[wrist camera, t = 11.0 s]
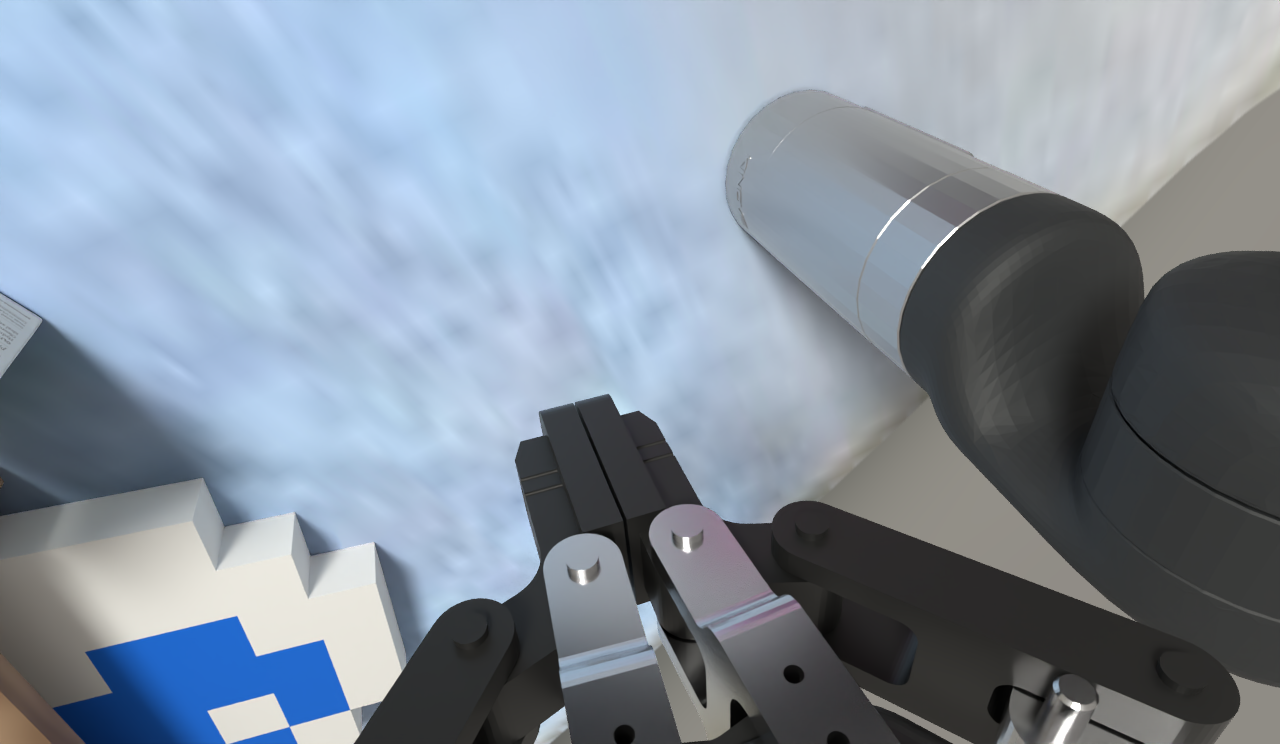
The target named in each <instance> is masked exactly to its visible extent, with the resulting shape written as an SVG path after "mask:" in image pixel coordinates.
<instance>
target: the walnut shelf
mask: <svg viewBox="0 0 1280 744" xmlns="http://www.w3.org/2000/svg"><path fill="white" fill-rule="evenodd" d="M3 483H4V481H3V480H2V479H1V477H0V488H1V487H2V485H3ZM0 744H85V742H84V741H83V740H82V739H81V738H80V737H79V736H78V735H77V734H76V733H75V732H74V731H73V730H72V729H71V728H70V726H69V725H68V724H67V723H66V722H65V721H64V720H63V719H62V718H61V717H60V716H59V715H58V714H57V713H56V712H55V710H54V709H53V708H52V707H51V706H50V705H49V704H48V703H47V702H46V701H45V700H44V699H43V698H42V697H41V696H40V694H39V693H38V692H37V691H36V690H35V689H34V688H33V687H32V686H31V685H30V684H29V683H28V682H27V681H26V680H25V678H24V677H23V676H22V675H21V674H20V673H19V672H18V671H17V670H16V669H15V668H14V667H13V666H12V665H11V664H10V662H9V661H8V660H7V659H6V658H5V657H4V656H3V655H2V654H1V653H0Z"/></svg>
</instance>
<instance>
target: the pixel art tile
mask: <svg viewBox="0 0 1280 744" xmlns="http://www.w3.org/2000/svg"><path fill="white" fill-rule="evenodd" d="M0 653H1V654H2V655H3V656H4V657H5V658H6V659H7V660H8V661H9V662H10V664H11V665H12V666H13V667H14V668H15V669H16V670H17V671H18V672H19V673H20V674H21V675H22V676H23V677H24V678H25V680H26V681H27V682H28V683H29V684H30V685H31V686H32V687H33V688H34V689H35V690H36V691H37V692H38V693H39V694H40V696H41V697H42V698H43V699H44V700H45V701H46V702H47V703H48V704H49V705H50V706H51V707H52V708H53V709H54V710H55V712H56V713H57V714H58V715H59V716H60V717H61V718H62V719H63V720H64V721H65V722H66V723H67V724H68V725H69V726H70V728H71V729H72V730H73V731H74V732H75V733H76V734H77V735H78V736H79V737H80V738H81V739H82V740H83V741H84V742H85V744H353V743H355V741H356V740H357V738H358V737H359V735H360V734H361V732H362V707H363V706H366V705H370V704H374V703H377V702H381V701H383V699H384V698H385V696H386V695H387V693H388V692H389V690H390V689H391V687H392V686H393V684H394V683H395V681H396V680H397V678H398V677H399V675H400V674H401V672H402V671H403V669H404V668H405V667H406V652H405V648H404V645H403V641H402V638H401V634H400V631H399V627H398V624H397V620H396V617H395V613H394V610H393V606H392V602H391V599H390V595H389V592H388V588H387V585H386V581H385V578H384V574H383V571H382V567H381V564H380V560H379V557H378V553H377V550H376V546H375V543H374V542H372V543H367V544H363V545H358V546H354V547H349V548H345V549H340V550H336V551H331V552H327V553H322V554H318V555H313V556H310V553H309V550H308V548H307V545H306V542H305V539H304V536H303V534H302V531H301V528H300V525H299V523H298V520H297V517H296V514H295V512H293V513H288V514H283V515H279V516H274V517H269V518H264V519H259V520H254V521H250V522H245V523H240V524H235V525H230V526H225V527H224V524H223V522H222V520H221V518H220V515H219V513H218V511H217V508H216V506H215V504H214V502H213V499H212V497H211V495H210V493H209V490H208V488H207V486H206V484H205V481H204V479H203V478H199V479H194V480H188V481H183V482H178V483H173V484H167V485H162V486H157V487H151V488H146V489H141V490H136V491H130V492H125V493H120V494H115V495H109V496H104V497H99V498H93V499H88V500H83V501H78V502H72V503H67V504H62V505H56V506H51V507H46V508H41V509H35V510H30V511H25V512H20V513H14V514H9V515H4V516H0Z"/></svg>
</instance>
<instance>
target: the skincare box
mask: <svg viewBox="0 0 1280 744" xmlns="http://www.w3.org/2000/svg"><path fill="white" fill-rule="evenodd" d="M41 323H42V319H41V318H40V317H39V316H37V315H35V314H34V313H32V312H30V311H29V310H27V309H25V308H24V307H22V306H21V305H19V304H17V303H16V302H14V301H12V300H11V299H9V298H7V297H6V296H4V295H2V294H1V293H0V378H1V377H2V375H3V374H4V373H5V371H6V370H7V369H8V367H9V366H10V365H11V363H12V362H13V361H14V359H15V358H16V357H17V355H18V354H19V353H20V351H21V350H22V349H23V347H24V346H25V345H26V343H27V342H28V341H29V339H30V338H31V337H32V335H33V334H34V333H35V331H36V330H37V328H38V327H39V326H40V324H41Z"/></svg>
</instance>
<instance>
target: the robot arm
mask: <svg viewBox="0 0 1280 744" xmlns="http://www.w3.org/2000/svg"><path fill="white" fill-rule="evenodd" d="M725 185H726V196H727V201H728V204H729V207H730V210H731V213H732V214H733V216H734V218H735V219H736V221H737V223H738V224H739V225H740V226H741V227H742V228H743V229H744V230H745V231H746V232H747V233H748V234H750V235H751V236H752V237H753V238H754V239H755V240H756V241H757V242H759V243H760V244H761V245H762V246H763V247H764V248H765V249H766V250H767V251H769V252H770V253H771V254H772V255H773V256H774V257H775V258H776V259H777V260H778V261H779V262H781V263H782V264H783V265H784V266H785V267H786V268H787V269H788V270H790V271H791V272H792V273H793V274H794V275H795V276H796V277H797V278H799V279H800V280H801V281H802V282H803V283H804V284H805V285H806V286H808V287H809V288H810V289H811V290H812V291H813V292H814V293H815V294H817V295H818V296H819V297H820V298H821V299H822V300H823V301H824V302H826V303H827V304H828V305H829V306H830V307H831V308H832V309H834V310H835V311H836V312H837V313H838V314H839V315H840V316H841V317H843V318H844V319H845V320H846V321H847V322H848V323H849V324H850V325H852V326H853V327H854V328H855V329H856V330H857V331H858V332H859V333H861V334H862V335H863V336H864V337H865V338H866V339H867V340H868V341H870V342H871V343H872V344H873V345H874V346H876V347H877V348H878V349H879V350H880V351H881V352H882V353H883V354H885V355H886V356H887V357H888V358H889V359H890V360H891V361H893V362H894V363H895V364H896V365H897V366H898V367H899V368H900V369H902V370H903V371H904V372H905V373H906V374H907V375H908V376H909V377H911V378H912V379H913V380H914V381H915V382H916V383H917V384H919V385H920V386H921V387H922V388H923V389H924V390H925V391H926V392H927V393H928V394H929V396H930V399H931V401H932V404H933V407H934V409H935V412H936V415H937V417H938V419H939V421H940V423H941V425H942V427H943V429H944V430H945V432H946V433H947V435H948V436H949V438H950V439H951V440H952V441H953V443H954V444H955V445H956V446H957V447H958V448H959V450H960V451H961V452H962V453H963V454H964V455H965V456H966V457H967V458H968V459H969V460H970V461H971V462H972V463H973V464H974V465H975V466H976V468H977V469H979V471H980V472H981V473H982V474H983V475H984V476H985V477H986V478H987V479H988V480H989V481H990V482H991V483H992V484H993V485H994V486H995V487H996V488H997V490H998V491H999V492H1000V493H1001V494H1002V495H1003V496H1004V497H1005V498H1006V499H1007V500H1008V501H1009V502H1010V503H1011V504H1012V505H1013V506H1014V507H1015V508H1016V509H1017V510H1018V511H1019V512H1020V514H1021V515H1022V516H1023V517H1024V518H1025V519H1026V520H1027V521H1028V522H1029V523H1030V524H1031V525H1032V526H1033V527H1034V528H1035V529H1036V530H1037V531H1038V533H1040V535H1041V536H1042V537H1043V538H1044V539H1045V540H1046V541H1047V542H1048V543H1049V544H1050V545H1051V546H1052V547H1053V548H1054V549H1055V550H1056V551H1057V552H1058V553H1059V554H1060V555H1061V556H1062V557H1063V558H1064V559H1065V560H1066V561H1067V562H1068V563H1069V564H1070V565H1071V566H1072V567H1073V568H1074V569H1075V570H1076V571H1077V572H1078V573H1079V574H1080V575H1081V576H1083V577H1084V578H1085V579H1086V580H1087V581H1088V582H1089V583H1090V584H1091V585H1092V586H1094V587H1095V588H1096V589H1097V590H1098V591H1099V592H1100V593H1101V594H1102V595H1104V596H1105V597H1106V598H1107V599H1108V600H1109V601H1111V602H1112V603H1113V604H1115V605H1116V606H1117V607H1118V608H1120V609H1121V610H1122V611H1124V612H1125V613H1126V614H1128V615H1129V616H1130V617H1132V618H1133V619H1134V620H1135V621H1137V622H1135V621H1133V620H1130V619H1127V618H1125V617H1122V616H1120V615H1117V614H1114V613H1112V612H1109V611H1106V610H1104V609H1101V608H1098V607H1096V606H1093V605H1090V604H1088V603H1085V602H1083V601H1080V600H1077V599H1074V598H1072V597H1069V596H1067V595H1064V594H1062V593H1059V592H1056V591H1054V590H1051V589H1048V588H1046V587H1043V586H1040V585H1038V584H1035V583H1033V582H1030V581H1027V580H1025V579H1022V578H1019V577H1017V576H1014V575H1011V574H1009V573H1006V572H1003V571H1001V570H998V569H995V568H993V567H990V566H987V565H985V564H982V563H980V562H977V561H975V560H972V559H969V558H966V557H964V556H961V555H959V554H956V553H954V552H951V551H948V550H946V549H943V548H940V547H937V546H935V545H932V544H930V543H927V542H924V541H921V540H919V539H917V538H914V537H911V536H908V535H906V534H903V533H901V532H898V531H895V530H893V529H890V528H887V527H885V526H882V525H880V524H877V523H874V522H872V521H869V520H867V519H864V518H861V517H859V516H856V515H853V514H850V513H848V512H845V511H843V510H840V509H838V508H835V507H832V506H830V505H827V504H824V503H821V502H815V501H799V502H794V503H791V504H788V505H786V506H785V507H783V508H782V509H780V510H779V511H778V512H777V514H776V515H775V517H774V519H773V522H772V523H761V524H739V523H732V522H728V521H725V520H722V519H721V518H720V517H719V516H718V515H717V514H716V513H715V512H714V511H712V510H710V509H708V508H706V507H703V505H702V504H701V502H700V501H699V499H698V497H697V495H696V493H695V492H694V490H693V488H692V486H691V484H690V483H689V481H688V479H687V477H686V475H685V474H684V472H683V470H682V468H681V467H680V465H679V463H678V461H677V459H676V458H675V456H673V452H672V450H671V449H670V447H669V445H668V443H667V442H666V441H665V438H664V436H663V434H662V433H661V431H660V429H659V427H658V425H657V424H656V422H654V421H653V420H651V419H650V418H648V417H647V416H645V415H644V414H642V413H641V412H640V411H636V412H632V413H628V414H624V415H621V416H620V414H619V412H618V410H617V408H616V406H615V404H614V402H613V400H612V398H611V396H610V395H609V394H606V395H602V396H598V397H594V398H590V399H586V400H582V401H578V402H575V406H574V404H573V403H571V404H567V405H563V406H559V407H555V408H551V409H547V410H543V411H539V417H540V423H541V428H542V433H543V436H541V437H537V438H533V439H529V440H525V441H521V442H520V445H519V449H518V452H517V455H516V459H515V463H516V467H517V472H518V476H519V480H520V485H521V489H522V493H523V498H524V502H525V507H526V511H527V515H528V518H529V522H530V526H531V529H532V533H533V537H534V540H535V544H536V547H537V551H538V555H539V558H540V566H539V569H538V571H537V574H536V575H535V577H534V579H533V580H532V581H531V582H530V584H529V585H528V586H527V587H526V588H524V589H523V590H522V591H521V592H519V593H518V594H517V595H515V596H514V597H512V598H510V599H509V600H507V601H506V602H504V603H503V604H501V603H499V602H497V601H494V600H490V599H481V598H478V599H471V600H467V601H464V602H461V603H459V604H456V605H455V606H453V607H451V608H450V609H448V610H447V611H446V612H444V613H443V614H442V615H441V616H440V617H439V618H438V619H437V621H436V622H435V623H434V625H433V626H432V628H431V629H430V631H429V632H428V634H427V635H426V637H425V638H424V640H423V641H422V643H421V644H420V646H419V647H418V649H417V650H416V652H415V653H414V655H413V656H412V658H411V659H410V661H409V662H408V664H407V665H406V667H405V668H404V669H403V671H402V672H401V674H400V675H399V677H398V678H397V680H396V681H395V683H394V684H393V686H392V687H391V689H390V690H389V692H388V693H387V695H386V696H385V698H384V699H383V701H382V702H381V704H380V705H379V707H378V708H377V710H376V711H375V713H374V714H373V716H372V717H371V719H370V720H369V722H368V723H367V725H366V726H365V728H364V729H363V731H362V732H361V734H360V735H359V737H358V738H357V740H356V741H355V743H354V744H534V742H535V740H536V738H537V735H538V733H539V728H540V724H541V723H542V722H544V721H545V720H547V719H548V718H549V717H551V716H552V715H553V714H555V713H556V712H557V711H559V710H560V709H561V708H563V707H564V706H565V709H566V715H567V721H568V727H569V732H570V739H571V744H952V743H950V742H948V741H947V740H945V739H943V738H941V737H939V736H937V735H936V734H934V733H932V732H930V731H928V730H926V729H925V728H923V727H921V726H919V725H917V724H915V723H913V722H912V721H910V720H908V719H906V718H904V717H902V716H900V715H898V714H896V713H894V712H891V711H889V710H886V709H884V708H881V707H878V706H874V705H872V704H871V702H870V701H869V699H868V698H867V697H866V695H865V694H864V692H863V691H862V690H861V688H863V689H865V690H867V691H869V692H871V693H873V694H875V695H877V696H879V697H881V698H883V699H885V700H887V701H889V702H891V703H893V704H895V705H897V706H899V707H901V708H903V709H905V710H908V711H909V712H911V713H913V714H915V715H918V716H919V717H921V718H923V719H925V720H927V721H929V722H931V723H933V724H935V725H937V726H939V727H941V728H944V729H945V730H947V731H950V732H952V733H954V734H956V735H958V736H960V737H962V738H964V739H966V740H968V741H970V742H972V743H974V744H1214V743H1215V741H1216V740H1217V739H1218V737H1219V736H1220V735H1221V733H1222V732H1223V731H1224V729H1225V728H1226V727H1227V725H1228V724H1229V722H1230V721H1231V719H1232V718H1233V717H1234V716H1235V714H1236V713H1237V711H1238V709H1239V705H1240V695H1239V690H1238V688H1237V685H1236V683H1235V681H1234V680H1233V678H1232V676H1231V675H1230V674H1229V673H1232V674H1234V675H1237V676H1239V677H1242V678H1245V679H1248V680H1252V681H1255V682H1258V683H1262V684H1266V685H1270V686H1274V687H1279V688H1280V252H1275V251H1231V252H1223V253H1216V254H1210V255H1206V256H1202V257H1198V258H1196V259H1193V260H1190V261H1187V262H1185V263H1182V264H1180V265H1179V266H1177V267H1175V268H1174V269H1172V270H1171V271H1169V272H1168V273H1166V274H1165V275H1164V276H1163V277H1162V278H1161V279H1160V280H1159V281H1158V282H1157V283H1156V284H1155V285H1154V286H1153V287H1152V289H1151V290H1150V292H1149V294H1148V295H1147V297H1146V298H1145V300H1144V283H1143V273H1142V267H1141V263H1140V259H1139V255H1138V253H1137V250H1136V248H1135V246H1134V244H1133V242H1132V240H1131V239H1130V238H1129V236H1128V235H1127V233H1126V232H1125V231H1124V230H1123V229H1122V228H1121V227H1120V226H1119V225H1118V224H1117V223H1115V222H1114V221H1112V220H1111V219H1109V218H1108V217H1106V216H1105V215H1103V214H1101V213H1099V212H1097V211H1095V210H1093V209H1091V208H1089V207H1086V206H1084V205H1082V204H1080V203H1077V202H1075V201H1073V200H1071V199H1068V198H1066V197H1064V196H1061V195H1059V194H1057V193H1055V192H1052V191H1050V190H1048V189H1046V188H1043V187H1041V186H1039V185H1036V184H1034V183H1032V182H1030V181H1027V180H1025V179H1023V178H1021V177H1018V176H1016V175H1014V174H1012V173H1009V172H1007V171H1004V170H1002V169H999V168H997V167H995V166H993V165H990V164H988V163H986V162H984V161H981V160H979V159H977V158H975V157H974V156H973V155H972V154H971V153H970V152H968V151H966V150H964V149H961V148H959V147H957V146H955V145H952V144H950V143H948V142H945V141H943V140H941V139H939V138H936V137H934V136H932V135H929V134H927V133H925V132H923V131H920V130H918V129H916V128H913V127H911V126H909V125H907V124H904V123H902V122H900V121H897V120H895V119H893V118H891V117H888V116H886V115H884V114H882V113H879V112H877V111H875V110H872V109H870V108H868V107H860V106H858V105H856V104H853V103H851V102H849V101H847V100H844V99H842V98H840V97H837V96H835V95H832V94H830V93H827V92H825V91H817V90H805V91H798V92H793V93H791V94H788V95H785V96H783V97H780V98H778V99H777V100H775V101H773V102H772V103H770V104H769V105H767V106H765V107H764V108H763V109H762V110H761V111H760V112H759V113H758V114H757V115H756V116H754V117H753V118H752V119H751V121H750V122H749V123H748V124H747V126H746V127H745V128H744V130H743V131H742V132H741V134H740V136H739V138H738V140H737V142H736V144H735V145H734V147H733V149H732V152H731V156H730V159H729V162H728V165H727V172H726V181H725ZM635 601H636V602H635ZM648 601H651V604H652V606H653V608H654V611H655V613H656V616H657V626H658V633H659V636H660V639H661V641H662V643H663V645H664V647H665V649H666V651H667V653H668V654H669V657H670V659H671V661H672V663H673V665H674V667H675V669H676V670H677V673H678V675H679V677H680V679H681V681H682V683H683V685H684V686H685V688H686V690H687V692H688V694H689V696H690V698H691V700H692V702H693V704H694V706H695V708H696V710H697V712H698V714H699V716H700V718H701V720H702V723H703V725H704V728H705V731H706V734H707V738H708V741H698V742H687V743H682V742H681V739H680V736H679V732H678V729H677V726H676V722H675V719H674V716H673V712H672V709H671V706H670V702H669V699H668V695H667V692H666V689H665V685H664V682H663V679H662V676H661V672H660V668H659V665H658V662H657V659H656V656H655V653H654V650H653V648H652V646H651V645H648V642H647V639H646V636H645V632H644V629H643V626H642V622H641V619H640V615H639V612H638V608H637V605H639V604H642V603H645V602H648ZM636 604H637V605H636ZM860 687H861V688H860Z"/></svg>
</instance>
